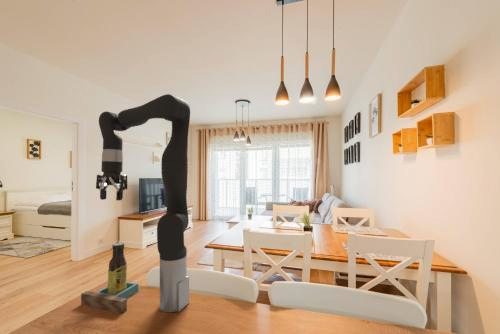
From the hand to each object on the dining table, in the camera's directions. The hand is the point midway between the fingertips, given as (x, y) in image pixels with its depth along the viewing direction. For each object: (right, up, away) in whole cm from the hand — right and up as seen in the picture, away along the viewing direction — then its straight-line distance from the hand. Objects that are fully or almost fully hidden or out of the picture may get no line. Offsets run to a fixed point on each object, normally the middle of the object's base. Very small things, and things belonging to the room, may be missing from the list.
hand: (111, 199), depth 97 cm
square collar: (+6, -36, -7) cm, 37 cm away
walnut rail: (+6, -36, -14) cm, 39 cm away
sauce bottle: (+6, -37, -7) cm, 38 cm away
